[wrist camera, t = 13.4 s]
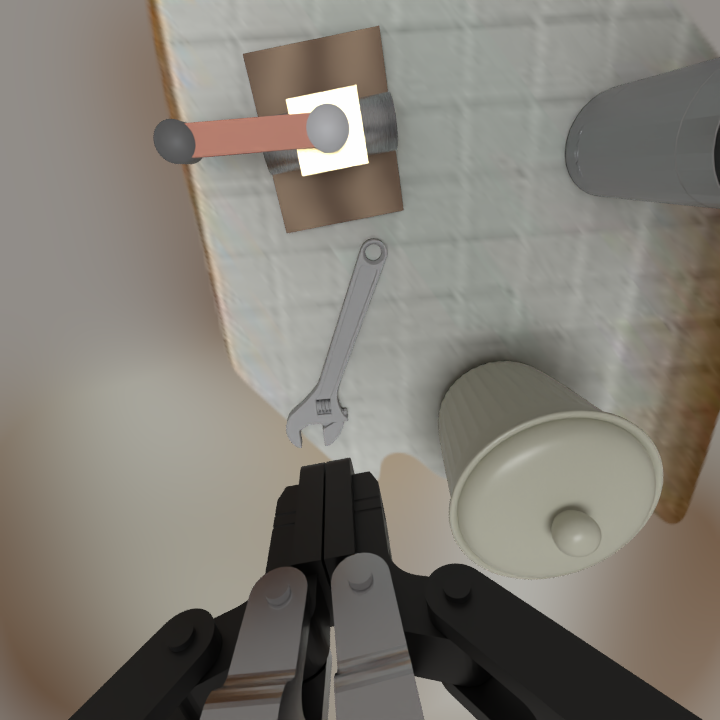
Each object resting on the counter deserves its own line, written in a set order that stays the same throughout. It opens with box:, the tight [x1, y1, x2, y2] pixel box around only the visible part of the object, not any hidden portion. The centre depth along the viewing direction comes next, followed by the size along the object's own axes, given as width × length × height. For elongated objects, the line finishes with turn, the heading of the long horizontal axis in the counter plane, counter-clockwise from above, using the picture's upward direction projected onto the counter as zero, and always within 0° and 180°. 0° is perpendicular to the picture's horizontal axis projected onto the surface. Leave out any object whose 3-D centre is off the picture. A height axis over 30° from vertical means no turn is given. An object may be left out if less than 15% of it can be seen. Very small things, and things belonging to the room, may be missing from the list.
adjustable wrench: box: [286, 239, 387, 448], centre depth 47 cm, size 25×6×2 cm, turn 157°
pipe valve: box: [263, 85, 398, 176], centre depth 33 cm, size 10×5×8 cm, turn 100°
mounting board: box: [243, 26, 403, 233], centre depth 38 cm, size 11×14×2 cm
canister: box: [438, 361, 663, 579], centre depth 41 cm, size 18×18×21 cm
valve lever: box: [153, 103, 350, 164], centre depth 29 cm, size 3×13×3 cm, turn 95°
